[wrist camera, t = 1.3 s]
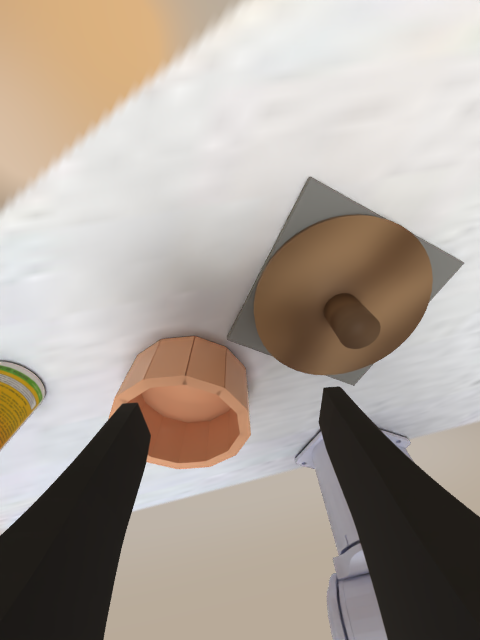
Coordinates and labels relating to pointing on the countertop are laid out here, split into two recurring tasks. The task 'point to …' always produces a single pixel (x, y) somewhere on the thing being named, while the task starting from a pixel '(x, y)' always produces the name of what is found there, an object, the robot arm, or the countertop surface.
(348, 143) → the countertop surface
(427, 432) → the countertop surface
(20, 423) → the supplement bottle
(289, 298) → the lid
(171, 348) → the bowl
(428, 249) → the mat
